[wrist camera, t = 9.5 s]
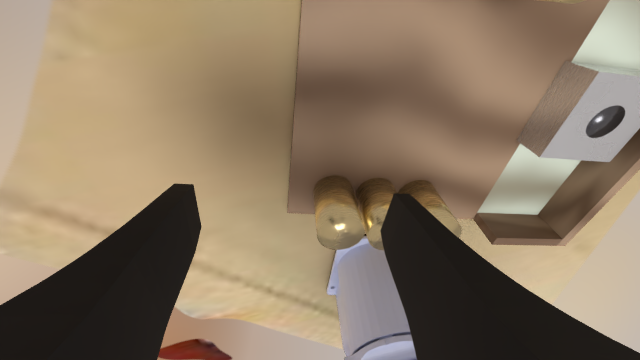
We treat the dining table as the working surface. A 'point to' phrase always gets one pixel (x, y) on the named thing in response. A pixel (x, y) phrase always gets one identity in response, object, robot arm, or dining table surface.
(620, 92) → the square block with knob
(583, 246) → the dining table surface
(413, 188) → the spacers
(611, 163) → the tray
